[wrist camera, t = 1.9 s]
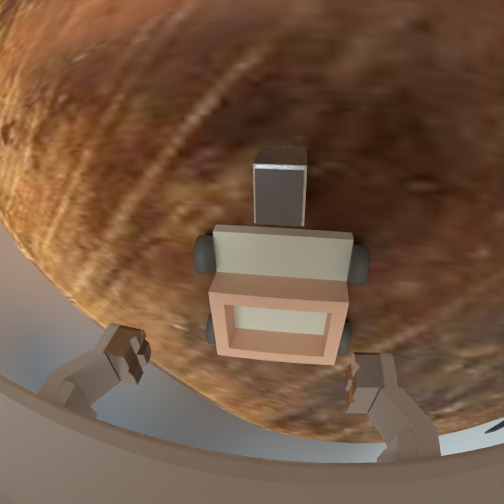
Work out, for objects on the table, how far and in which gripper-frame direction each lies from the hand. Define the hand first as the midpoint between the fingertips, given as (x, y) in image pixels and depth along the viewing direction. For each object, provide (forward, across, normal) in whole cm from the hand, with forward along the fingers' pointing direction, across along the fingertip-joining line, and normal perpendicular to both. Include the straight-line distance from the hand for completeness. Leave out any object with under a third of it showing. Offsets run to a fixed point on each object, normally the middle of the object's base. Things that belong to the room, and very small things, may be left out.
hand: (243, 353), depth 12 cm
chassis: (+21, 0, +14) cm, 25 cm away
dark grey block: (+21, 0, 0) cm, 21 cm away
